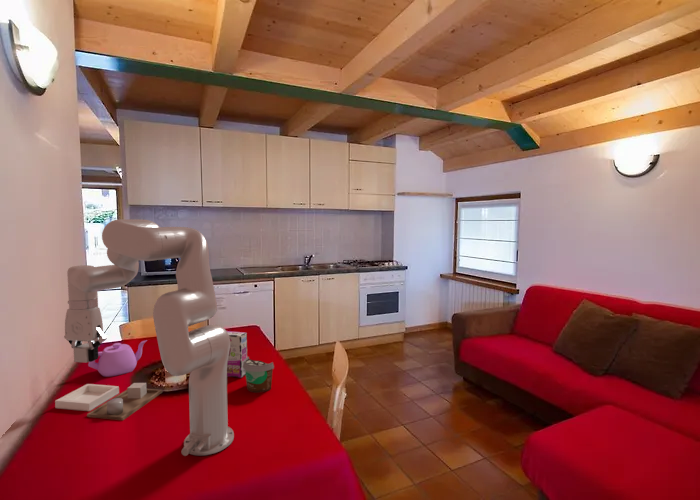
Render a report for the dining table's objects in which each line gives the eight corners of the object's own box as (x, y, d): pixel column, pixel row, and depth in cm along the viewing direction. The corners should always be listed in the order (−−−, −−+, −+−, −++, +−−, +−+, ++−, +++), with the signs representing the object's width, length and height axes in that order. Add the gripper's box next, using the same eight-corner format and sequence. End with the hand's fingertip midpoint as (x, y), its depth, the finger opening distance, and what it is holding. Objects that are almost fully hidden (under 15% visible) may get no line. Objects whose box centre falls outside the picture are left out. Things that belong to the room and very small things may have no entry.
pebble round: (112, 417, 109) (112, 406, 109) (103, 413, 111) (103, 402, 111) (126, 411, 113) (126, 400, 113) (117, 407, 115) (117, 396, 115)
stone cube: (86, 362, 116) (86, 348, 116) (74, 361, 117) (73, 347, 117) (98, 357, 121) (97, 344, 120) (86, 356, 121) (85, 343, 121)
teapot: (151, 370, 146) (150, 342, 145) (89, 383, 134) (88, 353, 133) (145, 360, 156) (144, 334, 155) (87, 371, 144) (86, 344, 143)
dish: (89, 413, 113) (89, 403, 113) (55, 409, 115) (55, 400, 115) (119, 394, 125) (118, 386, 125) (87, 392, 127) (87, 383, 126)
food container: (235, 389, 130) (235, 361, 129) (248, 382, 135) (247, 356, 134) (262, 397, 124) (262, 368, 123) (274, 390, 130) (274, 362, 129)
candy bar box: (248, 373, 144) (247, 332, 142) (241, 378, 139) (240, 336, 137) (222, 370, 146) (222, 329, 145) (215, 375, 141) (214, 333, 140)
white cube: (140, 398, 121) (140, 387, 121) (127, 398, 121) (127, 388, 121) (146, 393, 125) (146, 382, 125) (134, 393, 125) (133, 382, 125)
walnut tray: (123, 422, 108) (123, 417, 108) (87, 418, 110) (86, 414, 110) (162, 393, 126) (162, 389, 126) (131, 391, 128) (130, 387, 128)
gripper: (49, 305, 115) (52, 362, 116) (97, 308, 112) (100, 366, 114) (70, 300, 122) (73, 353, 124) (116, 302, 120) (118, 357, 121)
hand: (86, 359), depth 119 cm, fingers closed on stone cube, 4 cm apart
